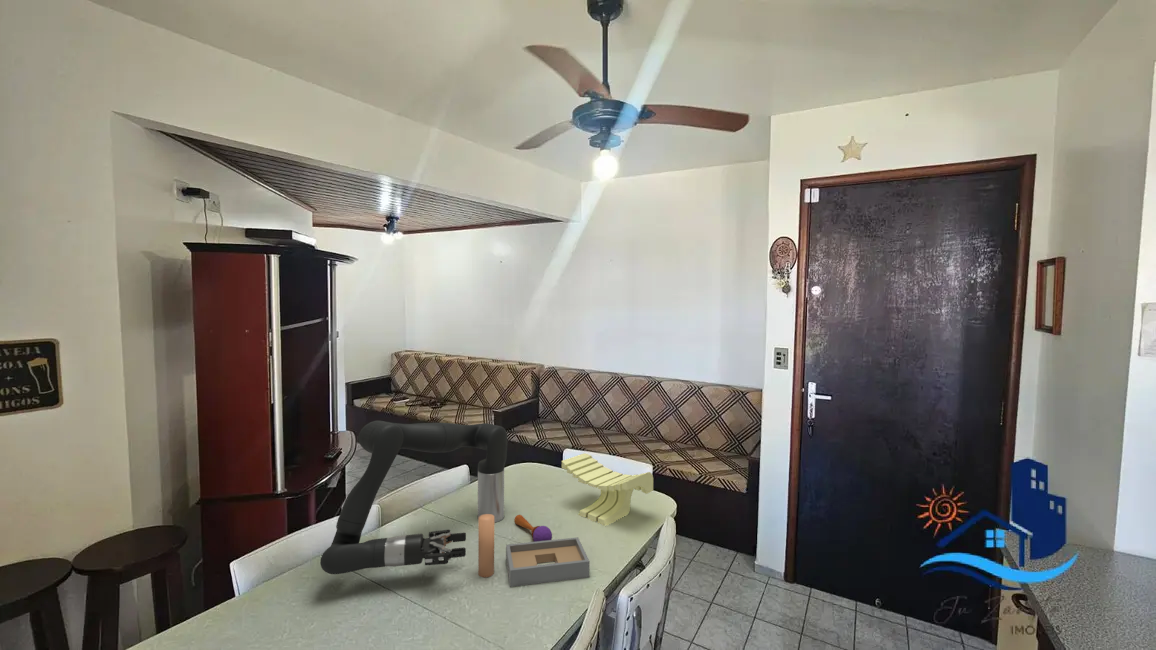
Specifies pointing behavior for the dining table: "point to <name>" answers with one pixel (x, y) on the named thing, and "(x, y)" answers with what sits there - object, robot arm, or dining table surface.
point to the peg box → (562, 551)
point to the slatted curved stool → (607, 488)
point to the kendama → (534, 529)
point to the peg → (486, 545)
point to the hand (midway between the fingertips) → (465, 543)
